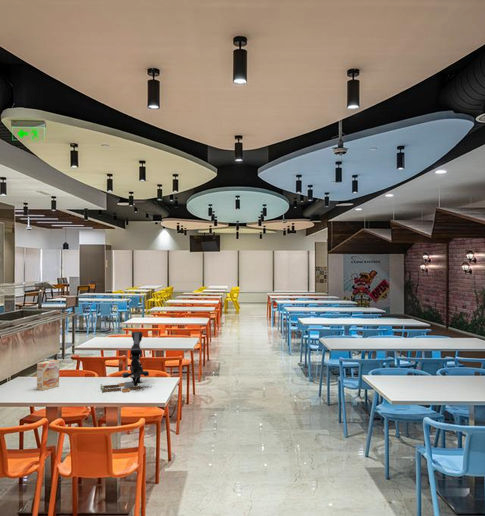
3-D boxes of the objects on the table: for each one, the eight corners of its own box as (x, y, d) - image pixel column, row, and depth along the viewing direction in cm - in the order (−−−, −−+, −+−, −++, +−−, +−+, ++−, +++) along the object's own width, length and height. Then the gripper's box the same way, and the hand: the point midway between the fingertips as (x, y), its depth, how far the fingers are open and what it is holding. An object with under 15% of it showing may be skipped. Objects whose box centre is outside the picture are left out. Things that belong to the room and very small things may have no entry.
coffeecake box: (43, 390, 350) (43, 363, 350) (36, 389, 353) (36, 362, 353) (59, 386, 363) (59, 360, 363) (52, 385, 366) (53, 359, 367)
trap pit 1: (118, 385, 367) (118, 383, 367) (125, 384, 368) (125, 382, 368) (119, 386, 362) (119, 384, 362) (126, 386, 364) (126, 384, 364)
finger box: (100, 388, 357) (100, 384, 357) (137, 385, 367) (137, 381, 367) (102, 392, 345) (102, 388, 345) (140, 389, 355) (140, 385, 355)
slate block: (124, 387, 360) (124, 382, 360) (132, 386, 362) (132, 381, 362) (125, 389, 354) (125, 383, 354) (133, 388, 356) (133, 383, 356)
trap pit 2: (121, 390, 350) (121, 388, 350) (128, 390, 352) (128, 388, 352) (122, 392, 345) (122, 390, 345) (129, 391, 347) (129, 389, 347)
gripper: (124, 367, 349) (124, 389, 349) (150, 365, 357) (150, 387, 356) (122, 364, 360) (122, 386, 359) (147, 363, 367) (147, 383, 366)
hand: (135, 385), depth 360 cm, fingers closed
